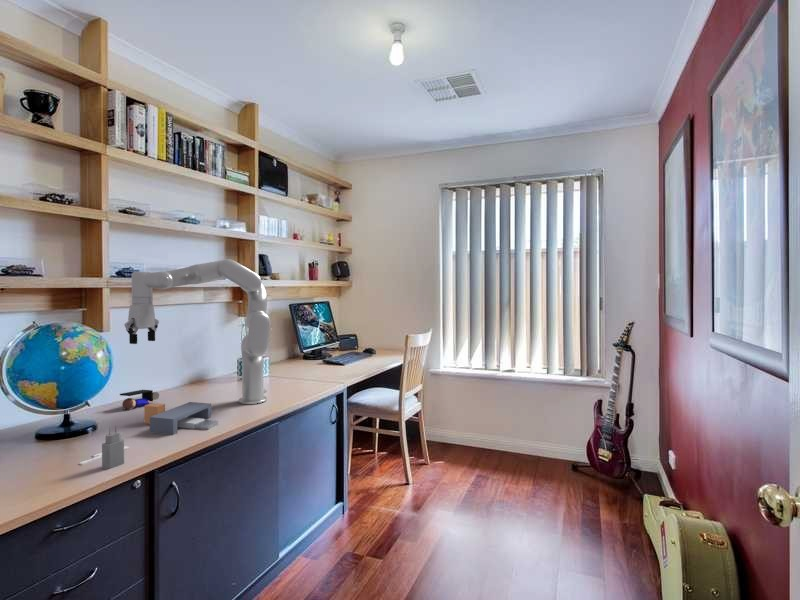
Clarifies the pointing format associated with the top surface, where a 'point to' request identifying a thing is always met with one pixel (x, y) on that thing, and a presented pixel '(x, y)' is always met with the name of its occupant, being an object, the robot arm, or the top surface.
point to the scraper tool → (159, 408)
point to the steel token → (206, 424)
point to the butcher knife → (96, 457)
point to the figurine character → (146, 397)
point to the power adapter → (112, 450)
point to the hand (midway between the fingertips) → (142, 342)
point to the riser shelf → (178, 417)
